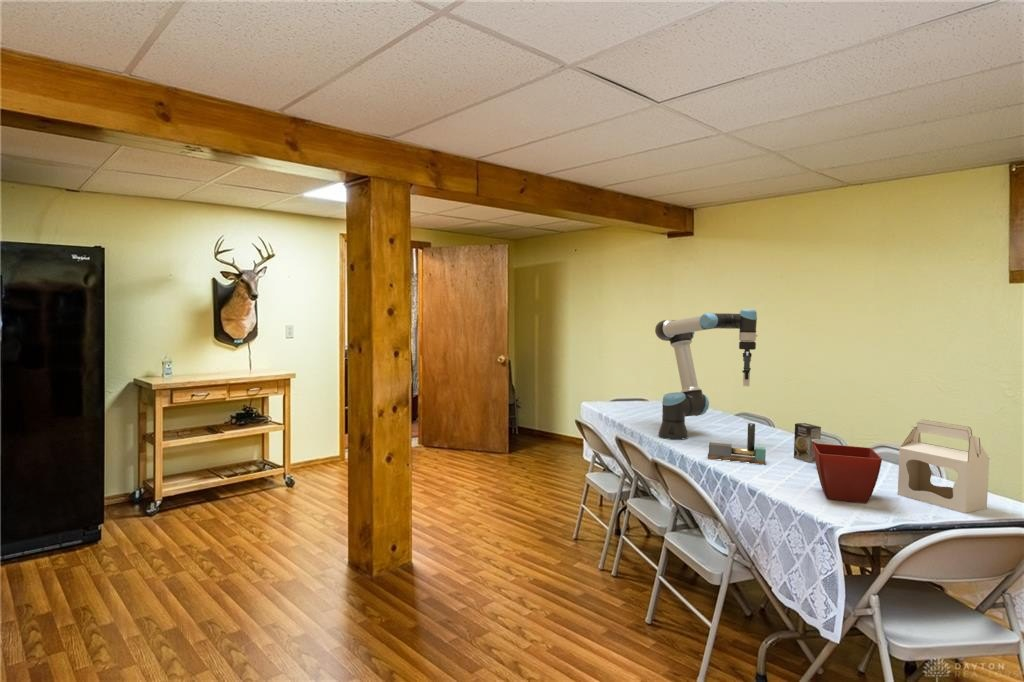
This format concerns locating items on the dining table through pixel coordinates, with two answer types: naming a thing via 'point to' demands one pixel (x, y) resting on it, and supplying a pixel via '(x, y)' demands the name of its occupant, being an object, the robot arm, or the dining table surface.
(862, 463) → the plant pot
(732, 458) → the walnut board
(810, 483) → the dining table surface
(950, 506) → the gable box
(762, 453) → the teal socket block
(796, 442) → the coffee box
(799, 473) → the dining table surface
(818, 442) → the plastic cup
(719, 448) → the grey rectangular block
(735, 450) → the slip tube
